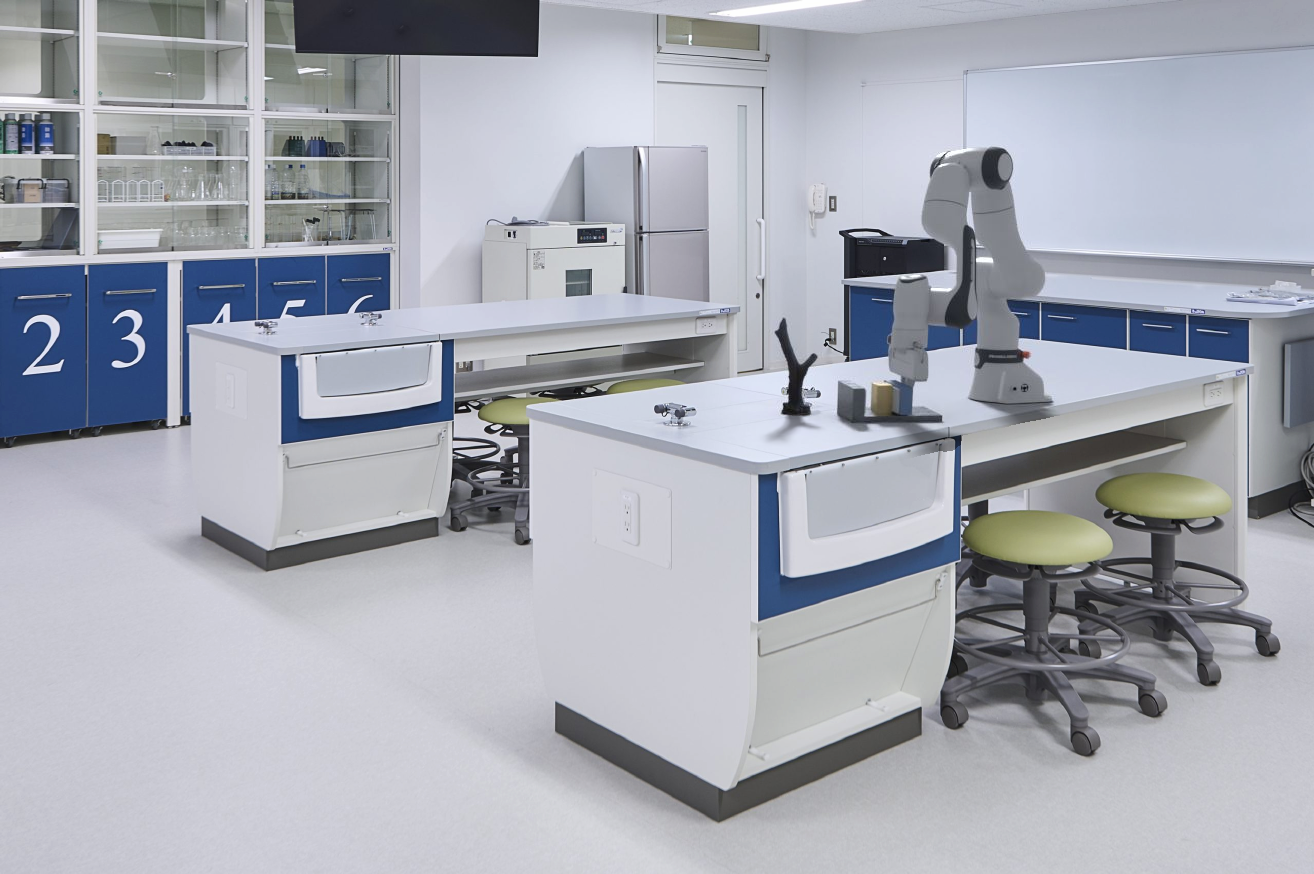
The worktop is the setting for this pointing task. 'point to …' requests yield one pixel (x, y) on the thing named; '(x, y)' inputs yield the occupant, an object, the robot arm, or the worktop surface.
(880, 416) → the base
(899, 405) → the sliding jaw
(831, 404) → the worktop surface
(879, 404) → the brass block
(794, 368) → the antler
